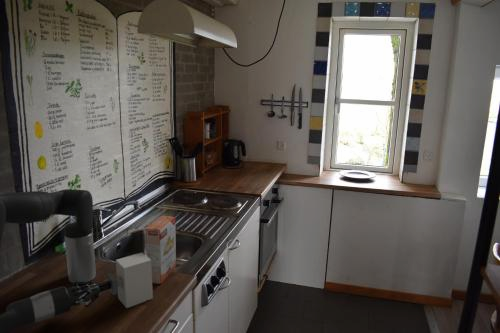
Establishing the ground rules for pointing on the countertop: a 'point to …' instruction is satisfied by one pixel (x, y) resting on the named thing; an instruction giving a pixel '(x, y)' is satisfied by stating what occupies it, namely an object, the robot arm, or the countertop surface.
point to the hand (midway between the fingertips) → (110, 284)
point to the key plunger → (114, 283)
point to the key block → (134, 279)
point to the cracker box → (161, 247)
